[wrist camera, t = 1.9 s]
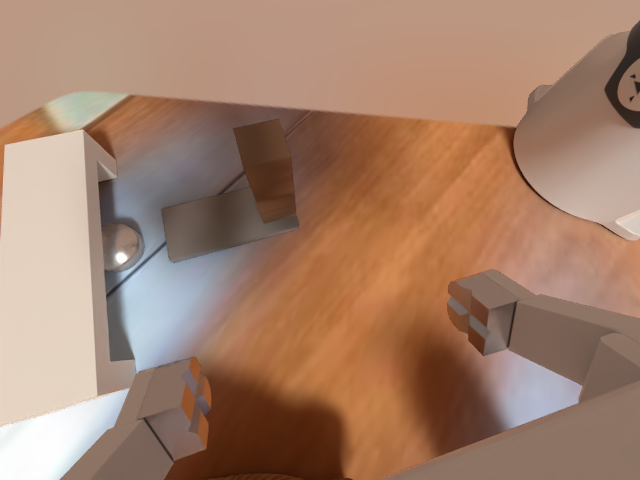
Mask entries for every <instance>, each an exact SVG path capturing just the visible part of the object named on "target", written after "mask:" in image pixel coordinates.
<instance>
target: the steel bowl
mask: <svg viewBox="0 0 640 480" xmlns="http://www.w3.org/2000/svg"><path fill="white" fill-rule="evenodd" d="M101 231H102V246H103V261H104V269H105V270H108V271H111V272H121V271H125V270H128V269H130V268H131V267H133V266H134V265H135V264H136V263H137V262H138V261H139V260H140V259H141V257H142V255H143V252H144V247H145V246H144V240H143V238H142V236H141V235H140V234H139V233H137V232H136V231H134V230H133V229H131V228H130V227H128V226H126V225H124V224H121V223H111V224H107V225H105V226H102V227H101Z"/></svg>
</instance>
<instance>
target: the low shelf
mask: <svg viewBox="0 0 640 480" xmlns="http://www.w3.org/2000/svg"><path fill="white" fill-rule="evenodd" d="M114 178H118V176H117V165H116V160H115V159H114V158H113V157H112V156H111V155H110V154H109V153H107V152H106V151H105V150H104V149H103V148H102V147H101V146H100V145H99V144H98V143H97V142H96V141H95V140H94V139H93V138H92V137H91V136H90V135H89V134H87V133H86V132H85V131H84V130H78V131H73V132H68V133H63V134H58V135H53V136H48V137H43V138H38V139H33V140H28V141H23V142H18V143H13V144H8V145H5V156H4V176H3V197H2V217H1V238H0V427H2V426H6V425H9V424H13V423H17V422H20V421H24V420H28V419H31V418H35V417H39V416H42V415H46V414H50V413H53V412H56V411H60V410H63V409H66V408H69V407H72V406H76V405H79V404H82V403H85V402H88V401H91V400H95V399H98V398H101V397H104V396H107V395H111V394H114V393H117V392H120V391H123V390H126V389H130V387H131V384H132V382H133V380H134V377H135V375H136V369H135V359H132V360H122V361H111V362H110V348H109V334H108V319H107V305H106V290H105V275H104V261H103V246H102V231H101V217H100V202H99V188H98V182H101V181H105V180H110V179H114Z"/></svg>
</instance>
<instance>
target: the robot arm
mask: <svg viewBox="0 0 640 480" xmlns="http://www.w3.org/2000/svg"><path fill="white" fill-rule="evenodd" d="M514 153H515V157H516V160H517V163H518V166H519V168H520V170H521V172H522V173H523V175H524V176H525V178H526V179H527V181H528V182H529V183H530V185H531V186H532V187H533V188H534V189H535V190H536V191H537V192H538V193H539V194H540V195H541V196H542V197H543V198H545V199H546V200H547V201H548V202H550V203H551V204H553V205H554V206H556V207H557V208H559V209H561V210H563V211H565V212H567V213H569V214H571V215H574V216H577V217H580V218H583V219H587V220H590V221H594V222H597V223H599V224H602V225H603V226H605V227H606V228H608V229H610V230H611V231H613V232H614V233H616V234H617V235H619V236H621V237H623V238H625V239H627V240H631V241H634V240H638V239H640V21H639V22H638V23H637V24H636V25H635V26H634V27H633V28H632V30H631V31H629V32H628V31H627V32H621V33H618V34H611V35H609V36H607V37H605V38H604V39H603V40H601V41H600V42H599V43H598V44H597V45H596V46H595V47H594V48H593V49H591V50H590V51H589V52H588V53H587V54H586V55H585V56H584V57H583V58H582V59H580V60H579V61H578V62H577V63H576V64H575V65H574V66H573V67H572V68H571V69H570V70H569V71H567V72H566V73H565V74H564V75H563V76H562V77H561V78H560V79H559V80H558V81H557V82H556V83H555V84H554V85H542V86H539V87H537V88H536V89H535V90H534V91H533V92H532V93H531V94H530V95H529V98H528V110H527V113H526V115H525V116H524V117H523V119H522V120H521V121H520V123H519V125H518V126H517V128H516V131H515V135H514ZM448 293H449V294H450V295H451V296H452V297H451V298H450V300H449V301H448V303H447V312H448V315H449V318H450V320H451V322H452V323H453V325H454V326H455V327H456V328H457V329H458V330H459V331H461V332H464V333H466V334H468V341H469V342H470V343H471V344H472V345H473V346H474V347H475V348H476V349H477V350H478V351H479V352H480V353H481V354H482V355H483V356H485V355H488V354H492V353H495V352H498V351H502V350H505V349H508V348H509V350H510V351H512V352H514V353H516V354H518V355H520V356H522V357H524V358H526V359H528V360H530V361H533V362H535V363H537V364H539V365H541V366H543V367H545V368H547V369H549V370H551V371H553V372H555V373H557V374H559V375H562V376H564V377H566V378H568V379H570V380H572V381H574V382H576V383H578V384H580V385H582V386H583V387H582V390H581V393H580V396H579V403H578V404H575V405H572V406H570V407H567V408H565V409H562V410H559V411H557V412H554V413H551V414H549V415H546V416H544V417H541V418H538V419H536V420H533V421H530V422H528V423H525V424H522V425H520V426H517V427H515V428H512V429H509V430H507V431H504V432H501V433H499V434H496V435H494V436H491V437H488V438H486V439H483V440H480V441H478V442H475V443H472V444H470V445H467V446H465V447H462V448H459V449H457V450H454V451H451V452H449V453H446V454H443V455H441V456H438V457H436V458H433V459H430V460H428V461H425V462H422V463H420V464H417V465H415V466H412V467H409V468H407V469H404V470H401V471H399V472H396V473H394V474H391V475H388V476H386V477H383V478H380V479H378V480H640V318H635V317H631V316H627V315H623V314H619V313H615V312H611V311H607V310H603V309H599V308H595V307H591V306H587V305H582V304H578V303H574V302H570V301H566V300H562V299H558V298H554V297H550V296H546V295H542V294H540V295H537V296H536V295H535V294H533V293H532V292H530V291H529V290H527V289H525V288H524V287H522V286H521V285H519V284H518V283H516V282H515V281H513V280H511V279H510V278H508V277H507V276H505V275H504V274H502V273H501V272H499V271H497V270H494V269H490V270H487V271H484V272H480V273H478V274H475V275H471V276H468V277H465V278H461V279H458V280H455V281H451V282H450V283H449V285H448ZM200 367H201V365H200V363H199V362H198V360H197V358H196V357H190V358H187V359H183V360H179V361H175V362H172V363H168V364H164V365H160V366H158V367H154V368H151V369H147V370H143V371H140V372H139V373H137V374H136V375H135V377H134V380H133V382H132V384H131V387H130V389H129V392H128V394H127V397H126V399H125V402H124V404H123V406H122V409H121V411H120V414H119V416H118V419H117V421H116V424H115V426H114V428H111V429H108V430H107V431H106V432H105V433H104V434H103V435H102V436H101V437H100V438H99V439H98V440H97V441H96V442H95V443H94V444H93V445H92V447H91V448H90V449H89V450H88V451H87V452H86V453H85V454H84V455H83V456H82V457H81V458H80V459H79V460H78V461H77V462H76V463H75V464H74V465H73V466H72V467H71V468H70V470H69V471H68V472H67V473H66V474H65V475H64V476H63V477H62V478H61V479H60V480H164V479H165V477H166V475H167V474H168V472H169V470H170V469H171V467H172V465H173V464H174V463H173V461H175V460H178V459H181V458H183V457H186V456H189V455H192V454H194V453H197V452H200V451H203V450H205V449H206V446H207V438H208V429H209V424H208V422H207V420H206V418H205V417H206V416H207V414H208V413H209V411H210V410H211V389H210V385H209V382H208V380H207V377H206V376H205V375H202V374H200Z"/></svg>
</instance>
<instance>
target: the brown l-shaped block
mask: <svg viewBox="0 0 640 480" xmlns="http://www.w3.org/2000/svg"><path fill="white" fill-rule="evenodd" d="M234 133H235V137H236V141H237V144H238V148H239V152H240V156H241V160H242V164H243V167H244V170H245V173H246V176H247V178H248V181H249V184H250V187H249V188H245V189H240V190H236V191H232V192H228V193H224V194H220V195H216V196H212V197H208V198H204V199H200V200H196V201H192V202H188V203H184V204H180V205H176V206H171V207H167V208H163V209H161V210H162V216H163V223H164V230H165V236H166V243H167V250H168V257H169V261H171V262H173V263H176V262H180V261H183V260H187V259H191V258H194V257H198V256H202V255H205V254H209V253H213V252H216V251H220V250H224V249H227V248H231V247H235V246H238V245H242V244H246V243H249V242H253V241H257V240H260V239H264V238H268V237H271V236H275V235H279V234H282V233H286V232H290V231H294V230H297V229H300V227H299V222H298V219H297V216H296V206H295V195H294V184H293V173H292V162H291V155H290V152H289V148H288V145H287V142H286V139H285V136H284V133H283V130H282V127H281V124H280V121H279V119H275V120H270V121H266V122H261V123H257V124H252V125H247V126H243V127H238V128H234Z"/></svg>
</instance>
